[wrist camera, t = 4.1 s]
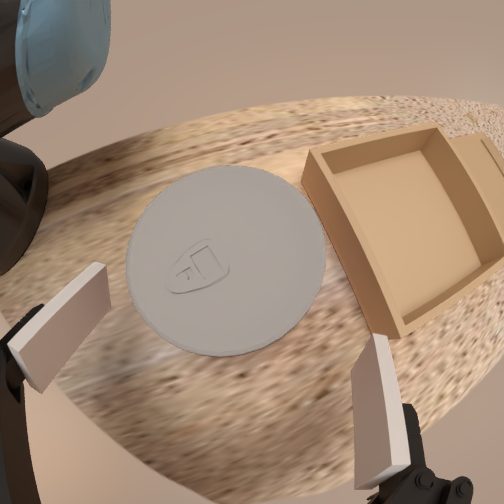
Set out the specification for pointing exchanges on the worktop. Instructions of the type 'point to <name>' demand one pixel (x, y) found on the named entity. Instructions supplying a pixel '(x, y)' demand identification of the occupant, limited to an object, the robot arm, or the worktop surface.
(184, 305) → the canned food
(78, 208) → the worktop surface
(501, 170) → the mailer box
